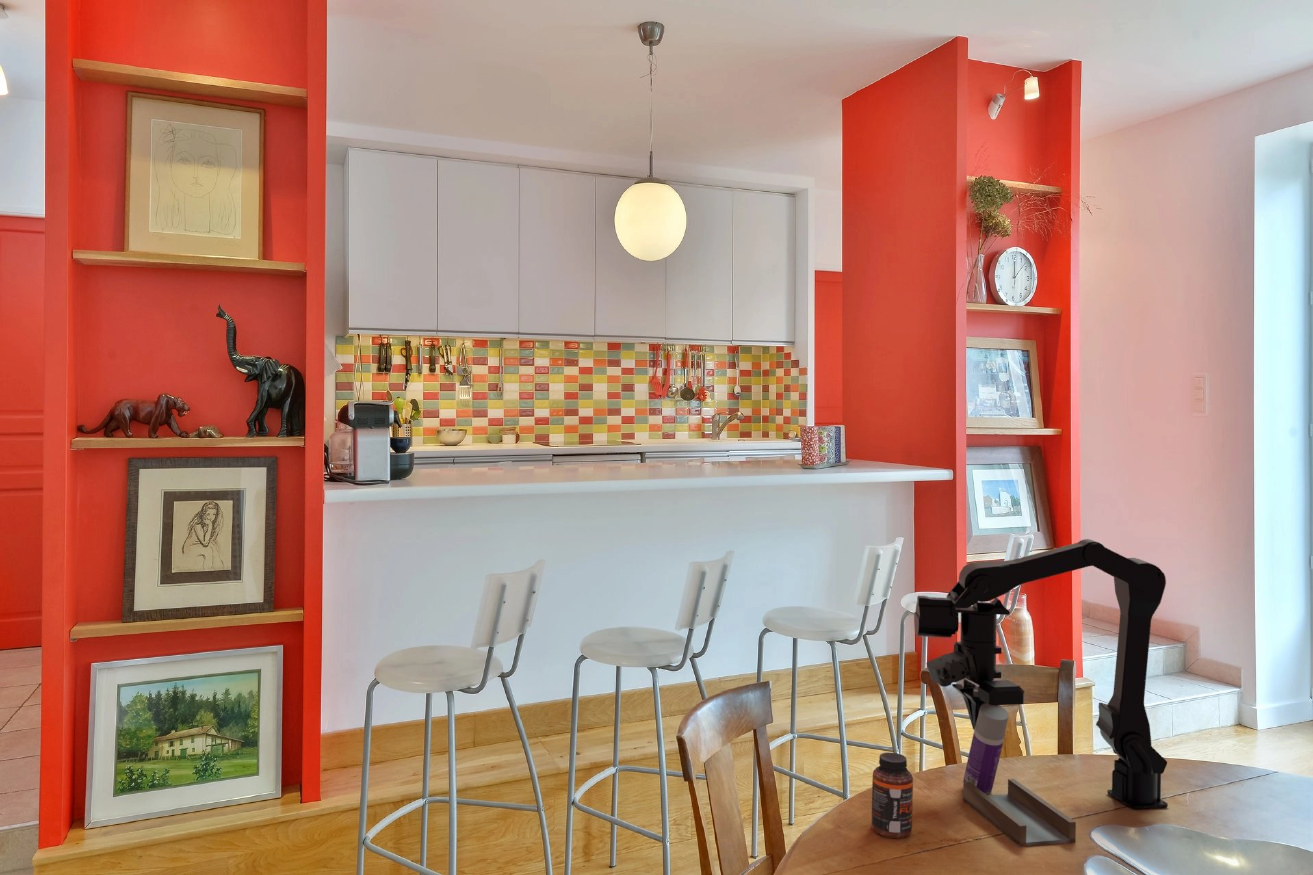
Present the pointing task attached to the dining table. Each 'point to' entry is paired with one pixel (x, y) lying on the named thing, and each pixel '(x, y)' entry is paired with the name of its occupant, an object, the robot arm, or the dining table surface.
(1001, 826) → the cradle
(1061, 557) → the robot arm
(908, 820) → the supplement bottle
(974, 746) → the container
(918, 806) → the dining table surface
